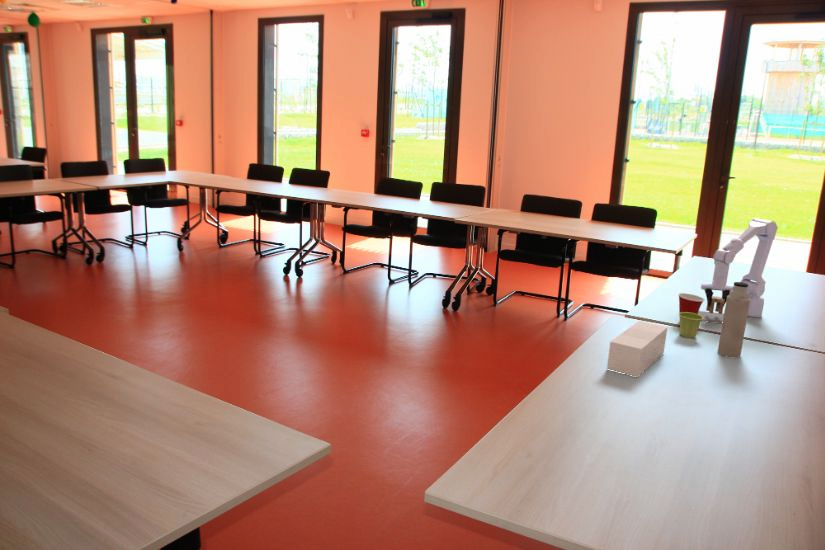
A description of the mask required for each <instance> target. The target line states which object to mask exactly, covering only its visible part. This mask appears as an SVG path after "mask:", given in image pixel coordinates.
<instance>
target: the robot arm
mask: <svg viewBox="0 0 825 550" xmlns="http://www.w3.org/2000/svg"><path fill="white" fill-rule="evenodd" d="M777 231H778V225H777V223H776V222H775V221H774V220H768V219H761V218H758V217H754V218H752V220H751V221H750V222H749V223H748V226H747V228H746V229H745V230H744V231H743V232H742V233H741V235H740V236H738V237H737V238H732V239H731V240H730V241H728V243H727V244H726V245H725V246H724V247H722V248H719V249H717V250H715V252H714V254H713V255H712V258H713V261H714V262H713V264H714V271H713V276H712V283H711V284H708V283H707V284H706V283H705V284H703V283H702V284H701V286H700V289H701V290H702V291H704V293H705V296H706V306H707V305H708V306H710V305H711V299H712V296H714V292H713V291H720V292H721V298H723V299H724V306H723V308H725V306H726V299H727V296H728V295H729V293H730V290H732V289H733V286H730V285H727V281H728V276H729V270H730V266H731V265H730V264H732V263H733V261H734V260H735V257H736V255H737V254H738V253H740V252H741V251H742V250H743V249H744V247H745V246H744V245H745V244H746V243H747V242H748V241H750V240H752V238H754V237H755V236H756V237H757V238H758V240H759V241H758V244H757V247H756V249H755V253H754V256H753V259H752V262H751V265H750V269H749V272H748V273H747V274H745V275H743V276H742V279H741V280H740V282H742V283H746V284H748V287H747V288H748V289H747V292H748V293H749V299H750V304H749V310H748V316H747V317H753V318H754V317H755V318H762V317H763V312H764V311H763V310H764V305H765V298H764V297H763V295H764V293H765V291H766V288H765V286H766V280H765V279H764V278H763V273H764V270H765V267H766V264H767V260H768V257H769V254H770V251H771V249H772V245H773V242H774V240H775V237H776V235H777Z"/></svg>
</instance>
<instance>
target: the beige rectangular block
mask: <svg viewBox="0 0 825 550" xmlns="http://www.w3.org/2000/svg"><path fill="white" fill-rule="evenodd" d="M667 333H668V326H664V325H660V324H654V323H650V322H646V321H641V320H638V321H637V322H635V323H634V324H632V326H630V327H628V328H627V329H626V330H624V331H623V332H621V333H620V334H619V335H618V336H616V337H615V338H613V339H612V340H611V341H609V350H608V357H607V363H606V364H607V365H606V370H607V369H610V370H614V371H617V372H621V373H625V374H628V375H632V376H636V377H638V376H639V375H640V374H641V373H642V372H643V371H644V370H645V369H647V368H648V367H649V366H650V365H651V364H652V363H653V362H654V363H655V362H657V361H658V358H659V357H660V356H661V355H662V354H663V353H664V354H665V348H666V339H667ZM664 354H663V355H664ZM663 355H662V356H663ZM662 356H661V357H662ZM661 357H660V358H661ZM660 358H659V359H660ZM654 363H653V364H654ZM653 364H652V365H653ZM652 365H651V366H652ZM651 366H650V367H651ZM650 367H649V368H650ZM649 368H648V369H649ZM648 369H647V370H648ZM643 373H644V372H643ZM643 373H642V374H643ZM642 374H641V375H642ZM641 375H640V376H641ZM640 376H639V377H640ZM639 377H638V378H639Z"/></svg>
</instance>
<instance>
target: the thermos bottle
mask: <svg viewBox="0 0 825 550" xmlns="http://www.w3.org/2000/svg"><path fill="white" fill-rule="evenodd" d="M732 287H733V289H732V290H730V293H729V295H728V296H727V299H726V303H725V305H724V311H723V314H724V317H723V323H722V324H721V328H720V329H721V330H720V336H719V340H718V348H717V353H718V354H719V355H720V356H722V355H723V356H722V357H725V356H727V357H726V358H730V357H738V358H740V357H741V354H742V349H743V344H744V336H745V332H746V328H747V327H746V326H747V322H748V321H747V319H748V317H749V316H748V310H749V304H750V299H749V293H748V292H747V289H748V288H747V287H748V284H746V283H742V282H741V281H734V282H733V286H732Z"/></svg>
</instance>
